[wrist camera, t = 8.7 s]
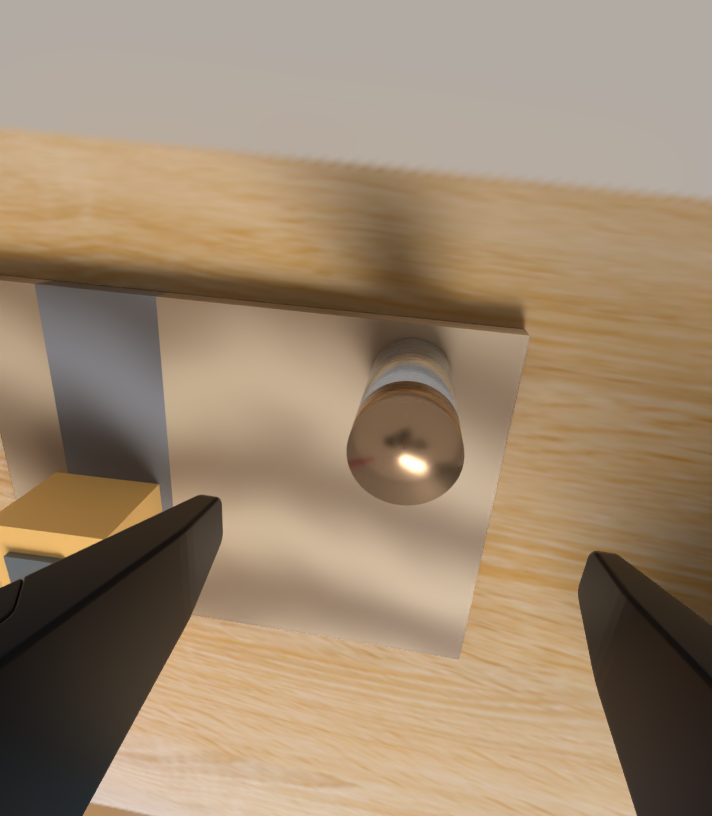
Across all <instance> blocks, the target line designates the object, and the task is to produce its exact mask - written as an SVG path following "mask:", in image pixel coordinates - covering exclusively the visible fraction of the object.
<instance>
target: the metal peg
mask: <svg viewBox="0 0 712 816" xmlns="http://www.w3.org/2000/svg"><path fill="white" fill-rule="evenodd" d="M346 455H347V462H348V465H349V468H350V471H351V473H352V475H353V477H354V478H355V480H356V481H357V482H358V484H359V485H360V486H361V487H362V488H363V489H364V490H365V491H367V492H368V493H369V494H371V495H372V496H374V497H376V498H377V499H380V500H382V501H384V502H387V503H391V504H396V505H404V506H409V505H419V504H423V503H427V502H430V501H432V500H435V499H436V498H438V497H440V496H442V495H443V494H444V493H446V492H447V491H448V490H449V489H450V488H451V487H452V486H453V485H454V484H455V482H456V481H457V479H458V478H459V476H460V473H461V471H462V468H463V464H464V457H465V456H464V445H463V439H462V433H461V427H460V421H459V415H458V409H457V403H456V397H455V391H454V385H453V379H452V373H451V368H450V364H449V361H448V359H447V357H446V355H445V354H444V352H443V351H442V350H441V349H440V348H439V347H438V346H436V345H435V344H434V343H432V342H430V341H428V340H425V339H422V338H417V337H406V338H401V339H398V340H395V341H393V342H391V343H389V344H388V345H386V346H385V347H384V348H383V349H382V350H381V351H380V352H379V354H378V355H377V357H376V359H375V361H374V363H373V366H372V369H371V372H370V375H369V378H368V381H367V384H366V387H365V390H364V393H363V396H362V399H361V402H360V405H359V408H358V411H357V414H356V417H355V420H354V423H353V426H352V429H351V432H350V435H349V438H348V442H347V453H346Z"/></svg>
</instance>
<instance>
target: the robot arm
mask: <svg viewBox="0 0 712 816" xmlns="http://www.w3.org/2000/svg"><path fill="white" fill-rule="evenodd" d="M222 537H223V518H222V502H221V499H220V498H219V497H216V496H209V495H202V494H201V495H197V496H195V497H193V498H191V499H188V500H186V501H184V502H182V503H180V504H178V505H176V506H174V507H171V508H169V509H167V510H165V511H163V512H161V513H159V514H157V515H154V516H152V517H150V518H148V519H146V520H144V521H142V522H140V523H137V524H135V525H133V526H131V527H129V528H127V529H125V530H123V531H120V532H118V533H116V534H114V535H112V536H110V537H108V538H106V539H103V540H101V541H99V542H97V543H95V544H93V545H91V546H88V547H86V548H84V549H82V550H80V551H78V552H76V553H74V554H71V555H69V556H67V557H65V558H63V559H61V560H59V561H57V562H54V563H52V564H50V565H48V566H46V567H44V568H42V569H40V570H37V571H35V572H33V573H31V574H29V575H27V576H25V577H24V579H23V580H22V579H18V580H16V581H14V582H12V583H10V584H7V585H5V586H3V587H1V588H0V816H83V814H84V812H85V810H86V808H87V806H88V805H89V803H90V801H91V799H92V797H93V796H94V794H95V792H96V790H97V788H98V786H99V785H100V783H101V781H102V779H103V777H104V775H105V774H106V772H107V770H108V768H109V766H110V764H111V762H112V761H113V759H114V757H115V755H116V753H117V751H118V750H119V748H120V746H121V744H122V742H123V740H124V739H125V737H126V735H127V733H128V731H129V729H130V728H131V726H132V724H133V722H134V720H135V718H136V717H137V715H138V713H139V711H140V709H141V707H142V706H143V704H144V702H145V700H146V698H147V696H148V695H149V693H150V691H151V689H152V687H153V685H154V683H155V682H156V680H157V678H158V676H159V674H160V672H161V671H162V669H163V667H164V665H165V663H166V661H167V660H168V658H169V656H170V654H171V652H172V650H173V649H174V647H175V645H176V643H177V641H178V639H179V638H180V636H181V634H182V632H183V630H184V628H185V627H186V625H187V623H188V621H189V619H190V617H191V615H192V613H193V610H194V608H195V606H196V604H197V601H198V599H199V596H200V594H201V591H202V589H203V587H204V584H205V582H206V579H207V577H208V574H209V572H210V569H211V567H212V564H213V562H214V560H215V557H216V555H217V552H218V550H219V547H220V545H221V541H222ZM578 599H579V604H580V609H581V614H582V619H583V624H584V629H585V635H586V640H587V645H588V650H589V655H590V660H591V665H592V670H593V674H594V678H595V682H596V686H597V689H598V693H599V696H600V699H601V703H602V706H603V709H604V712H605V715H606V718H607V722H608V725H609V728H610V731H611V734H612V738H613V741H614V744H615V747H616V750H617V753H618V757H619V760H620V763H621V766H622V769H623V773H624V776H625V779H626V782H627V785H628V788H629V792H630V795H631V798H632V801H633V804H634V808H635V811H636V814H637V816H712V625H710V624H709V623H708V622H706V621H705V620H704V619H702V618H701V617H700V616H699V615H697V614H696V613H695V612H693V611H692V610H691V609H689V608H688V607H687V606H685V605H684V604H683V603H681V602H680V601H679V600H677V599H676V598H675V597H673V596H672V595H671V594H669V593H668V592H667V591H665V590H664V589H663V588H661V587H660V586H659V585H657V584H656V583H655V582H653V581H652V580H651V579H649V578H648V577H647V576H645V575H644V574H643V573H641V572H640V571H639V570H637V569H636V568H635V567H633V566H632V565H631V564H629V563H628V562H627V561H625V560H624V559H623V558H621V557H620V556H619V555H617V554H614V553H607V552H600V551H594V552H592V553H591V554H590V555H589V557H588V560H587V563H586V566H585V569H584V572H583V575H582V578H581V581H580V584H579V589H578Z"/></svg>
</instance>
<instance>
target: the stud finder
mask: <svg viewBox="0 0 712 816" xmlns="http://www.w3.org/2000/svg"><path fill="white" fill-rule="evenodd" d="M161 512H162V504H161V495H160V487H159V484H153V483H145V482H136V481H128V480H119V479H111V478H102V477H94V476H85V475H77V474H68V473H60V472H56V473H54V474H53V475H51V476H50V477H49V478H47V479H46V480H44V481H43V482H41V483H40V484H39V485H37V486H36V487H34V488H33V489H32V490H30V491H29V492H27V493H26V494H24V495H23V496H22V497H20V498H19V499H17V500H16V501H15V502H13V503H12V504H10V505H9V506H7V507H6V508H5V509H3V510H2V511H0V582H1V585H2V587H3V586H5V585H7V584H10V583H12V582H14V581H16V580H18V579H22V580H23V579H24V577H25V576H27V575H29V574H31V573H33V572H35V571H37V570H40V569H42V568H44V567H46V566H48V565H50V564H52V563H54V562H57V561H59V560H61V559H63V558H65V557H67V556H69V555H71V554H74V553H76V552H78V551H80V550H82V549H84V548H86V547H88V546H91V545H93V544H95V543H97V542H99V541H101V540H103V539H106V538H108V537H110V536H112V535H114V534H116V533H118V532H120V531H123V530H125V529H127V528H129V527H131V526H133V525H135V524H137V523H140V522H142V521H144V520H146V519H148V518H150V517H152V516H154V515H157V514H159V513H161Z"/></svg>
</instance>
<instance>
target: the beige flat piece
mask: <svg viewBox="0 0 712 816" xmlns="http://www.w3.org/2000/svg"><path fill="white" fill-rule="evenodd" d="M406 337H417V338H422V339H425V340H428V341H430V342H432V343H434V344H435V345H436V346H438V347H439V348H440V349H441V350H442V351H443V352H444V354H445V355H446V357H447V359H448V361H449V364H450V368H451V373H452V379H453V385H454V391H455V397H456V403H457V409H458V415H459V421H460V427H461V433H462V439H463V445H464V456H465V457H464V464H463V468H462V471H461V473H460V476H459V478H458V479H457V481H456V482H455V484H454V485H453V486H452V487H451V488H450V489H449V490H448V491H447V492H446V493H444V494H443V495H442V496H440V497H438V498H436V499H435V500H432V501H430V502H427V503H423V504H419V505H409V506H404V505H396V504H391V503H387V502H384V501H382V500H380V499H377V498H376V497H374V496H372V495H371V494H369V493H368V492H367V491H365V490H364V489H363V488H362V487H361V486H360V485H359V484H358V482H357V481H356V480H355V478H354V477H353V475H352V473H351V471H350V468H349V465H348V462H347V455H346V453H347V442H348V438H349V435H350V432H351V429H352V426H353V423H354V420H355V417H356V414H357V411H358V408H359V405H360V402H361V399H362V396H363V393H364V390H365V387H366V384H367V381H368V378H369V375H370V372H371V369H372V366H373V363H374V361H375V359H376V357H377V355H378V354H379V352H380V351H381V350H382V349H383V348H384V347H385V346H386V345H388V344H389V343H391V342H393V341H395V340H398V339H401V338H406ZM529 339H530V335H529V334H528V332H527V331H526V330H525V329H517V328H507V327H497V326H488V325H478V324H468V323H459V322H449V321H439V320H430V319H420V318H410V317H401V316H391V315H381V314H372V313H362V312H352V311H343V310H333V309H323V308H313V307H304V306H294V305H284V304H275V303H265V302H255V301H246V300H236V299H226V298H217V297H207V296H197V295H188V294H178V293H168V292H159V291H149V290H139V289H130V288H120V287H110V286H100V285H91V284H81V283H71V282H62V281H52V280H42V279H33V278H23V277H13V276H4V275H0V433H1V438H2V442H3V447H4V451H5V455H6V460H7V464H8V468H9V473H10V477H11V481H12V486H13V490H14V494H15V499H16V500H17V499H19V498H20V497H22V496H23V495H24V494H26V493H27V492H29V491H30V490H32V489H33V488H34V487H36V486H37V485H39V484H40V483H41V482H43V481H44V480H46V479H47V478H49V477H50V476H51V475H53V474H54V473H56V472H60V473H68V474H77V475H85V476H94V477H102V478H111V479H119V480H128V481H136V482H145V483H153V484H159V487H160V495H161V504H162V512H163V511H165V510H167V509H169V508H171V507H174V506H176V505H178V504H180V503H182V502H184V501H186V500H188V499H191V498H193V497H195V496H197V495H201V494H202V495H209V496H216V497H219V498H220V499H221V502H222V518H223V537H222V541H221V545H220V547H219V550H218V552H217V555H216V557H215V560H214V562H213V564H212V567H211V569H210V572H209V574H208V577H207V579H206V582H205V584H204V587H203V589H202V591H201V594H200V596H199V599H198V601H197V604H196V606H195V608H194V610H193V613H192V615H195V616H201V617H207V618H213V619H219V620H225V621H231V622H237V623H243V624H249V625H255V626H261V627H267V628H273V629H279V630H285V631H291V632H297V633H303V634H309V635H315V636H321V637H327V638H333V639H339V640H345V641H351V642H357V643H363V644H369V645H375V646H381V647H387V648H393V649H399V650H405V651H411V652H417V653H423V654H429V655H435V656H441V657H447V658H453V659H459V657H460V652H461V647H462V643H463V638H464V634H465V629H466V625H467V620H468V616H469V611H470V607H471V602H472V598H473V593H474V588H475V584H476V579H477V575H478V570H479V566H480V561H481V557H482V552H483V548H484V543H485V538H486V534H487V529H488V525H489V520H490V516H491V511H492V507H493V502H494V498H495V493H496V489H497V484H498V479H499V475H500V470H501V466H502V461H503V457H504V452H505V448H506V443H507V439H508V434H509V429H510V425H511V420H512V416H513V411H514V407H515V402H516V398H517V393H518V389H519V384H520V379H521V375H522V370H523V366H524V361H525V357H526V352H527V348H528V343H529Z"/></svg>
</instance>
